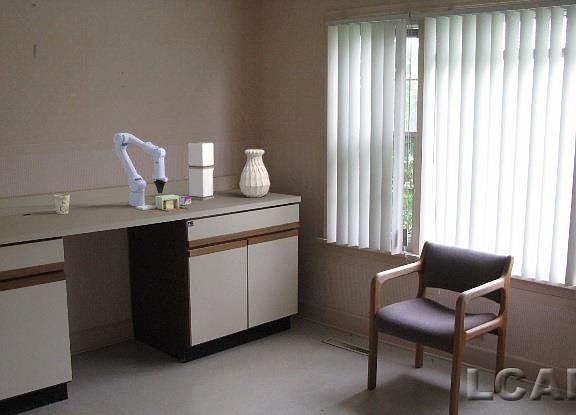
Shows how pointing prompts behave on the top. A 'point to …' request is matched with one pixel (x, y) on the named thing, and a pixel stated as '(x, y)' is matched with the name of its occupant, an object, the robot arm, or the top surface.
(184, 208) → the puzzle board
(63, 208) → the mug
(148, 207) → the tray
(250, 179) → the vase
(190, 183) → the white two-part pillar
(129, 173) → the robot arm
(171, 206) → the block
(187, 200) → the candy bar box
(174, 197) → the hood
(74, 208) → the top surface
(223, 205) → the top surface
